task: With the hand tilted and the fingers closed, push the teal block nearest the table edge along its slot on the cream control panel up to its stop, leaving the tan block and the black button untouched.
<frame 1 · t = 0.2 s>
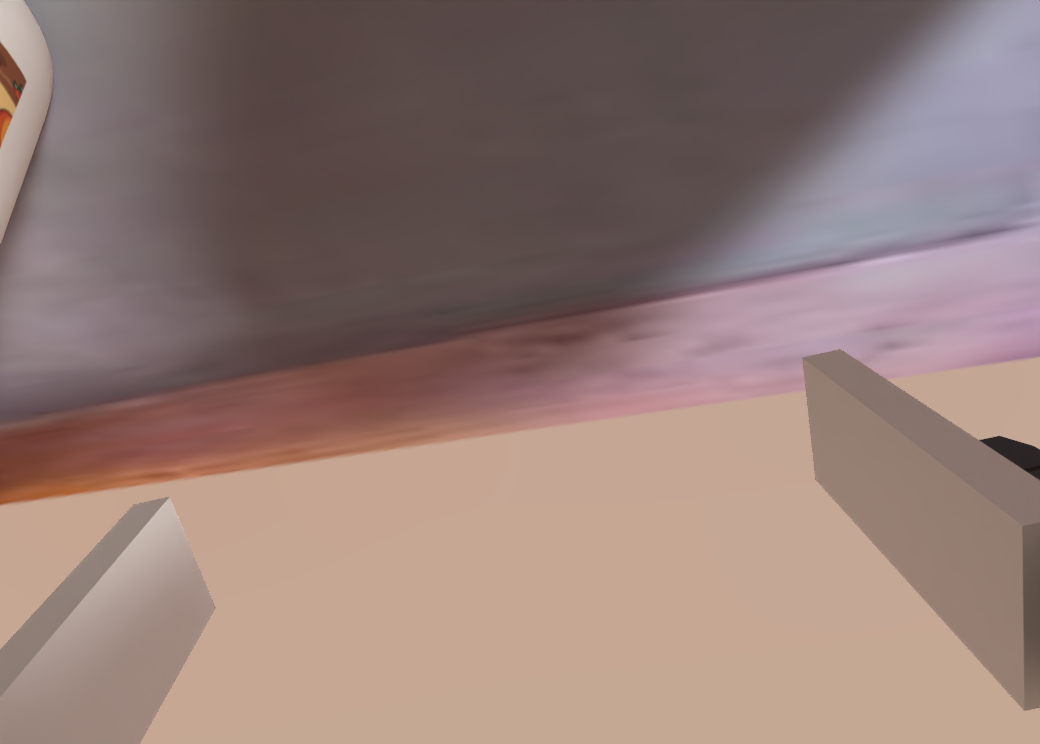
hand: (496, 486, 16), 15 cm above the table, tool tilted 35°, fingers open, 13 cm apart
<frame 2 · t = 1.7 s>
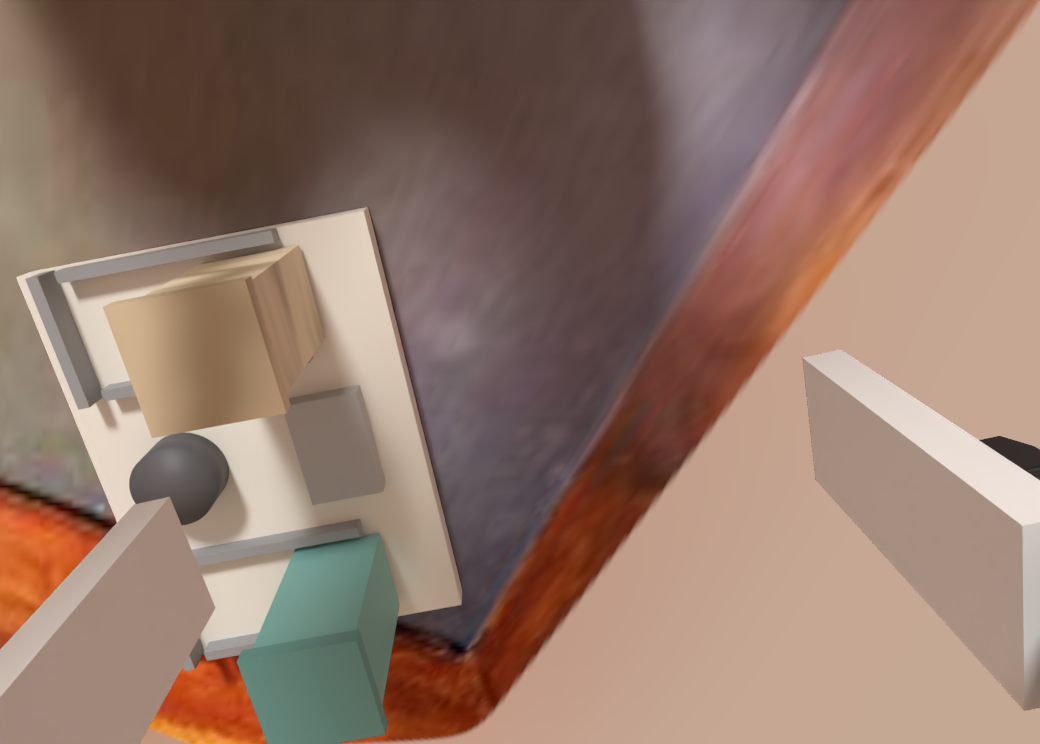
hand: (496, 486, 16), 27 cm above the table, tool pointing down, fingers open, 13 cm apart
panel: (266, 444, 44), on the table
tan block: (235, 327, 35), point 7 cm above the table, slide at 0.0 cm
teal block: (332, 631, 40), point 7 cm above the table, slide at 0.0 cm
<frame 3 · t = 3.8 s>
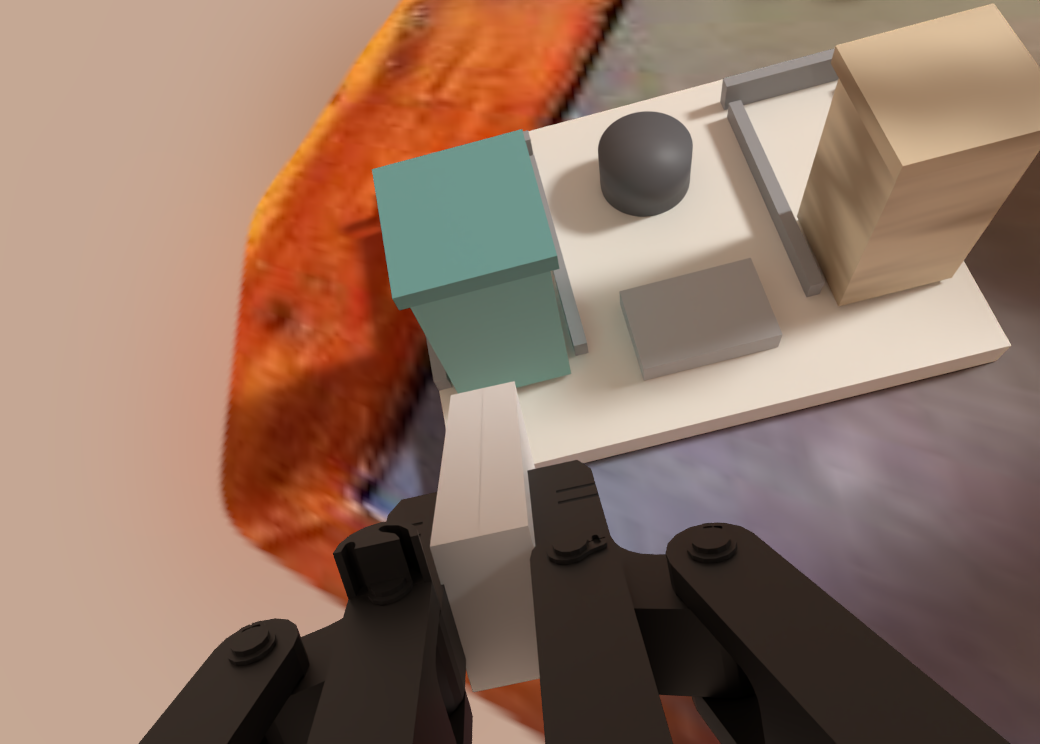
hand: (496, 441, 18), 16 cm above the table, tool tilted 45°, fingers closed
panel: (667, 261, 38), on the table
tan block: (905, 175, 30), point 7 cm above the table, slide at 0.0 cm
teal block: (486, 284, 31), point 7 cm above the table, slide at 0.0 cm
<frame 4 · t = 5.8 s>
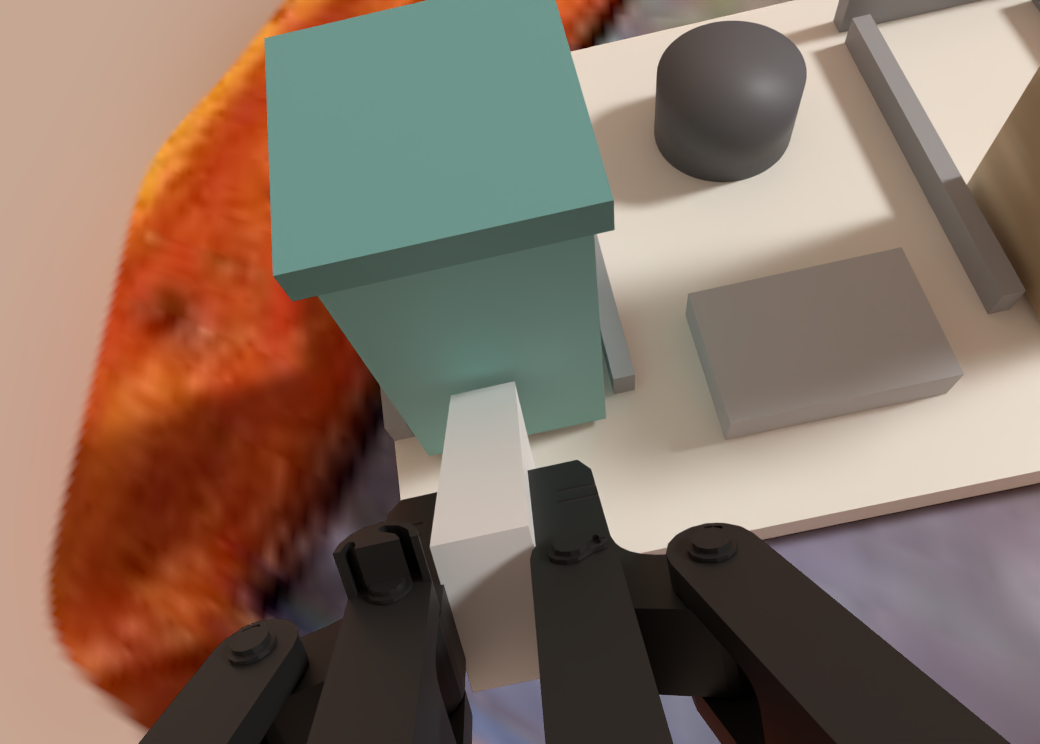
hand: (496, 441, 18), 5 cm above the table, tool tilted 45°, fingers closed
panel: (752, 252, 25), on the table
teal block: (472, 265, 18), point 7 cm above the table, slide at 0.2 cm, touching gripper
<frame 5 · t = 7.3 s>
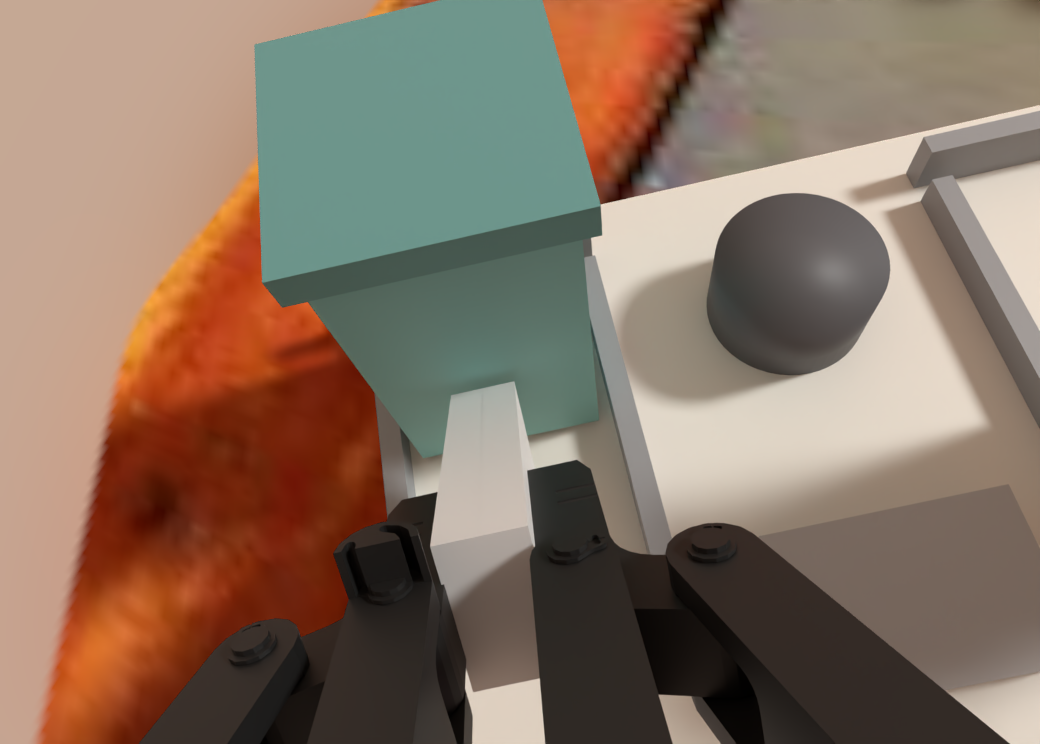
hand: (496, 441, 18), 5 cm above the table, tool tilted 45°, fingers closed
panel: (820, 451, 22), on the table
teal block: (463, 268, 18), point 7 cm above the table, slide at 7.1 cm, touching gripper
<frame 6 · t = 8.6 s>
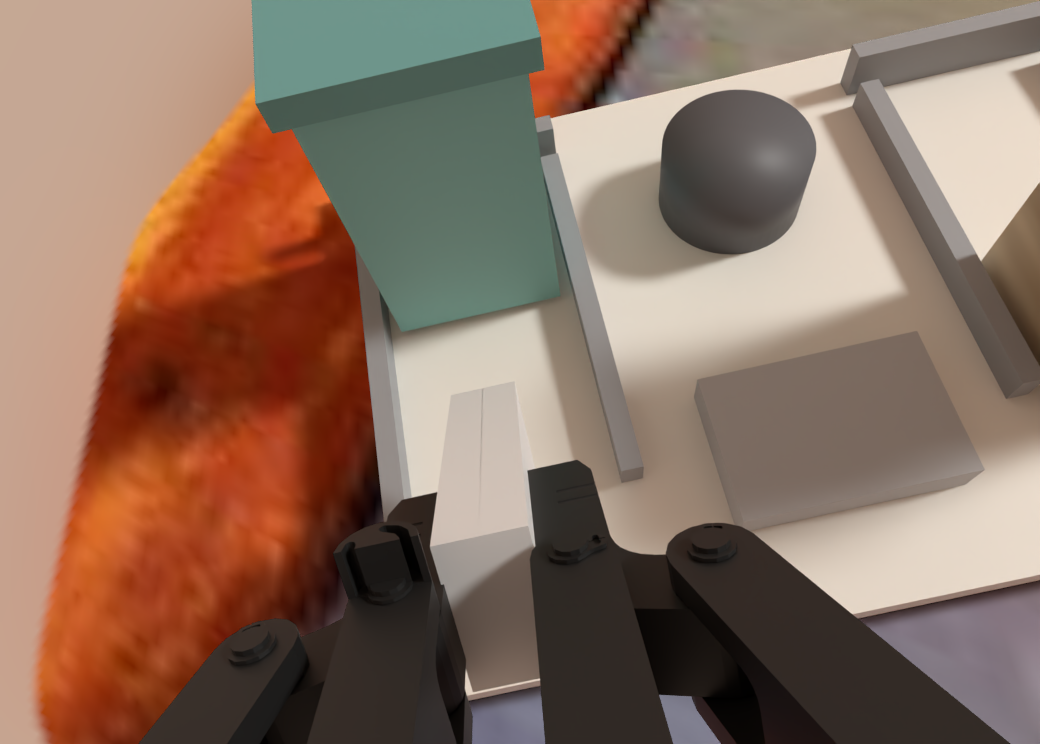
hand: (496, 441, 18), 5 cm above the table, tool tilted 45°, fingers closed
panel: (760, 325, 24), on the table
teal block: (434, 142, 20), point 7 cm above the table, slide at 7.0 cm
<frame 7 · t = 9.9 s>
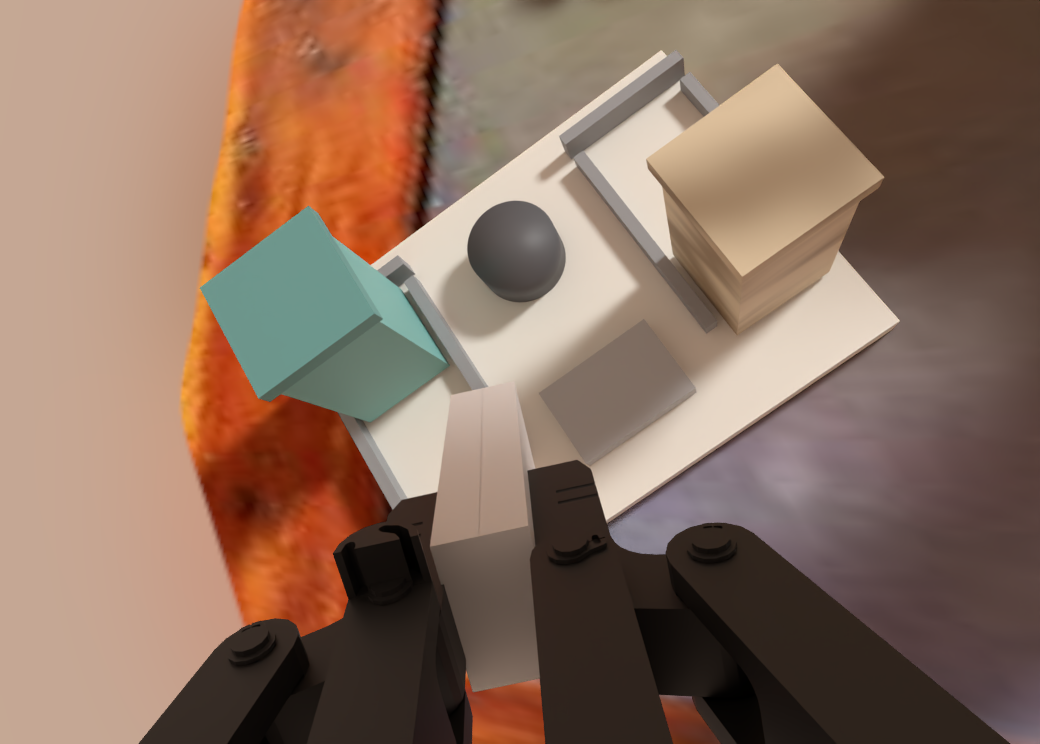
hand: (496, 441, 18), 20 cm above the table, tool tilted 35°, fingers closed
panel: (571, 329, 39), on the table
tan block: (753, 222, 31), point 7 cm above the table, slide at 0.0 cm
teal block: (342, 331, 35), point 7 cm above the table, slide at 7.0 cm
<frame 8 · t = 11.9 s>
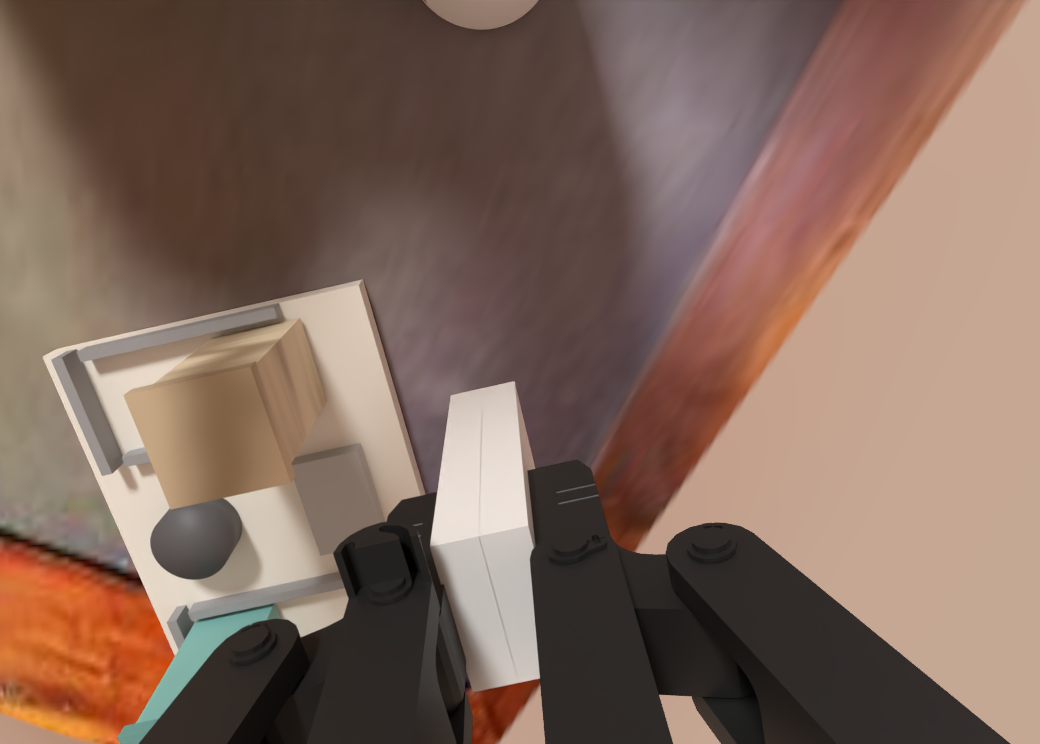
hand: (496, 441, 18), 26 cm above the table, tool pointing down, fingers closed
panel: (275, 499, 47), on the table
tan block: (243, 400, 38), point 7 cm above the table, slide at 0.0 cm
teal block: (222, 700, 44), point 7 cm above the table, slide at 7.0 cm
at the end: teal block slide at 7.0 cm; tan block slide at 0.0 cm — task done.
